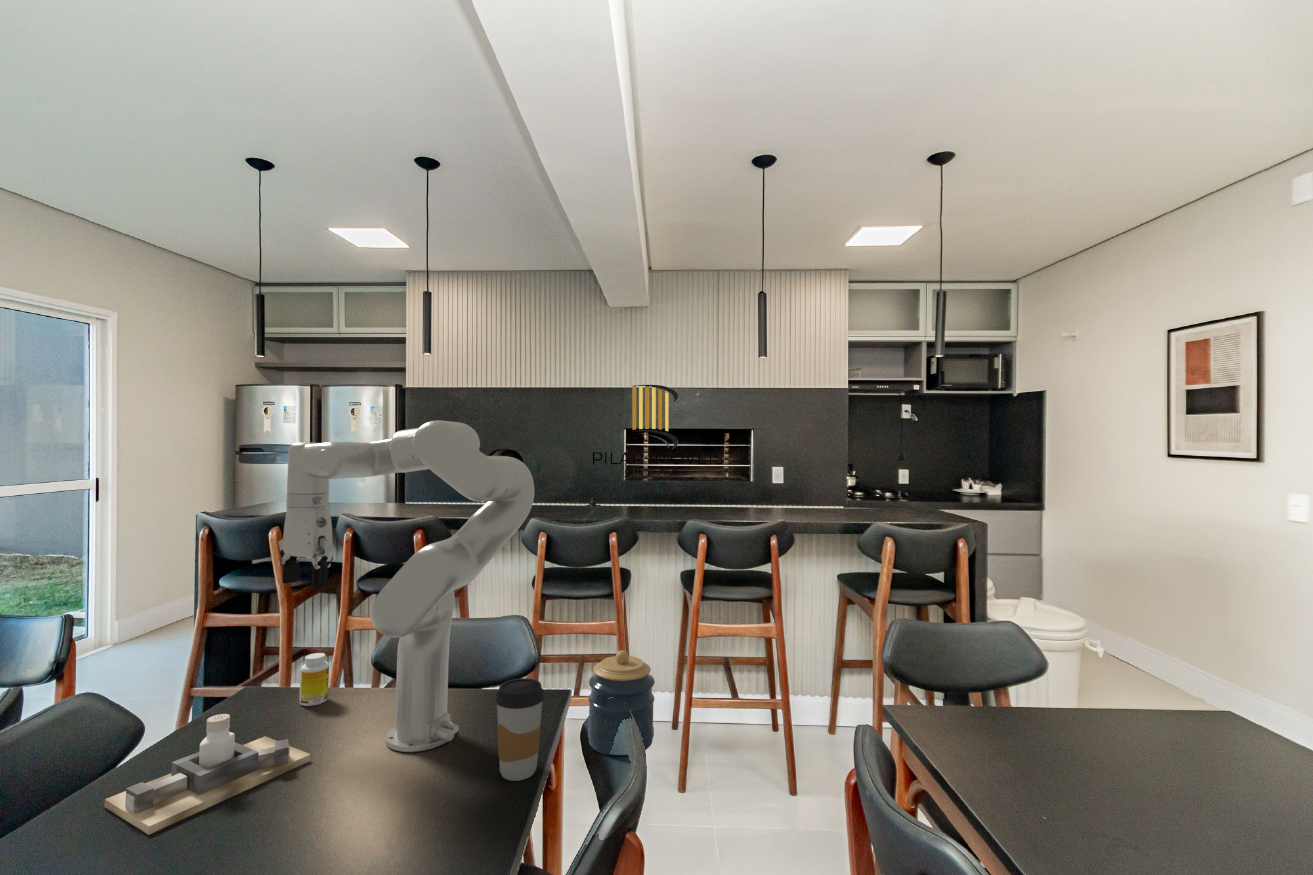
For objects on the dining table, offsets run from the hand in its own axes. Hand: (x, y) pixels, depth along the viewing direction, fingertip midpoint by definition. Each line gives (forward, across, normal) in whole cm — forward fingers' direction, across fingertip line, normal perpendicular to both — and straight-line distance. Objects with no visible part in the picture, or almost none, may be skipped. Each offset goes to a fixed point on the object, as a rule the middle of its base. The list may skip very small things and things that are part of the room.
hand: (304, 584), depth 123 cm
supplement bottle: (+28, +8, -8) cm, 31 cm away
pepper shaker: (+27, -9, +20) cm, 35 cm away
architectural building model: (+28, -9, +20) cm, 36 cm away
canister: (+28, -61, -26) cm, 72 cm away
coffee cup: (+28, -51, -8) cm, 59 cm away
